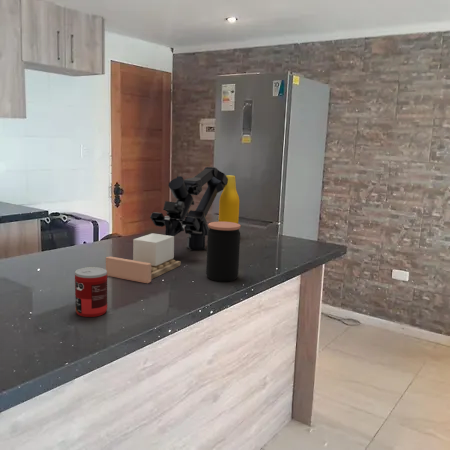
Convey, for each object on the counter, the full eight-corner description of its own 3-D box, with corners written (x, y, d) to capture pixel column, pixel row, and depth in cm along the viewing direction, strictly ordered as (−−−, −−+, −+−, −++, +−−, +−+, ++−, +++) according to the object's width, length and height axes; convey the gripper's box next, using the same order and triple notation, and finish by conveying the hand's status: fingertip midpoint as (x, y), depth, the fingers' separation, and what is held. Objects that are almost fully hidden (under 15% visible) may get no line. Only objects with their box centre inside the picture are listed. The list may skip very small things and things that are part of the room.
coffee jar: (242, 275, 158) (244, 223, 154) (232, 284, 148) (234, 228, 144) (212, 271, 161) (214, 220, 158) (201, 279, 151) (203, 225, 148)
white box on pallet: (152, 254, 169) (152, 233, 168) (173, 258, 166) (174, 236, 164) (133, 262, 158) (133, 239, 157) (155, 266, 155) (156, 242, 153)
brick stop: (109, 273, 153) (109, 256, 152) (151, 281, 147) (151, 263, 146) (105, 275, 151) (105, 257, 150) (147, 283, 145) (147, 264, 144)
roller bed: (148, 260, 172) (148, 253, 171) (180, 265, 166) (180, 258, 166) (113, 274, 153) (113, 267, 152) (148, 280, 147) (148, 273, 147)
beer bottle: (219, 236, 219) (221, 174, 213) (238, 237, 217) (241, 175, 212) (216, 240, 210) (218, 176, 204) (236, 241, 208) (239, 177, 203)
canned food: (79, 306, 124) (78, 266, 121) (109, 306, 124) (109, 267, 122) (72, 317, 116) (71, 275, 114) (104, 317, 117) (104, 275, 115)
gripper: (153, 190, 174) (136, 224, 166) (197, 195, 167) (181, 230, 159) (163, 209, 183) (147, 241, 175) (206, 214, 175) (191, 248, 167)
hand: (166, 240), depth 169 cm, fingers closed
